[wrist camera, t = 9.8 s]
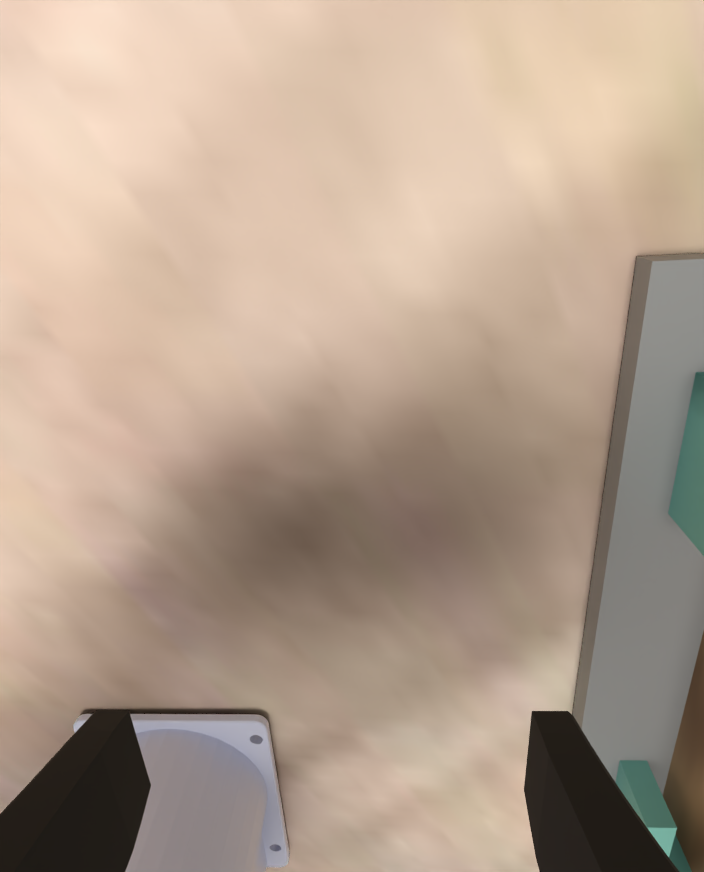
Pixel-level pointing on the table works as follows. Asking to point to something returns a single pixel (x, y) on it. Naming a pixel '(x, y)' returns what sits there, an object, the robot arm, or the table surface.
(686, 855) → the slat
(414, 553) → the table surface
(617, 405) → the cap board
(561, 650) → the table surface
